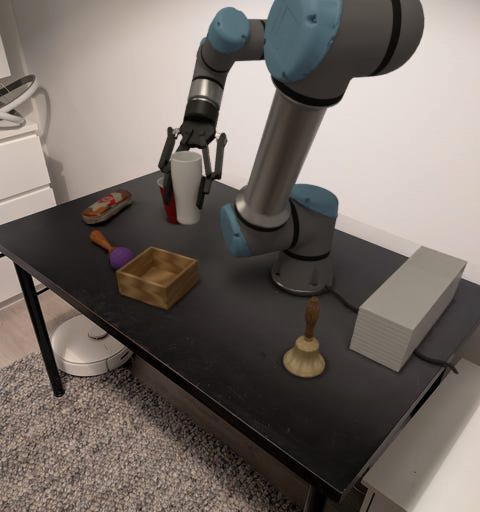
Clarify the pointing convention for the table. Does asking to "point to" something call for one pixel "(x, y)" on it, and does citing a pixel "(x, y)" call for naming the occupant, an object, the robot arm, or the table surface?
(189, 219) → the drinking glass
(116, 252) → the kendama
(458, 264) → the stack of papers
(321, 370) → the hand bell
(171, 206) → the plastic cup
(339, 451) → the table surface
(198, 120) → the robot arm
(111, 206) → the pencil case
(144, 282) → the bin
